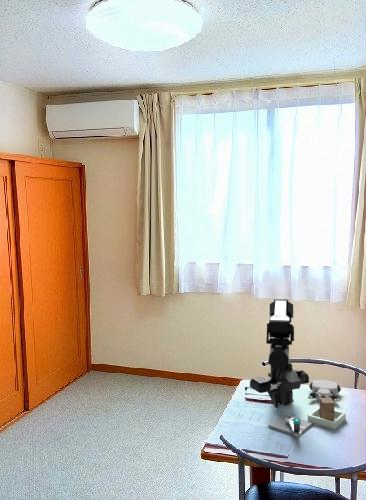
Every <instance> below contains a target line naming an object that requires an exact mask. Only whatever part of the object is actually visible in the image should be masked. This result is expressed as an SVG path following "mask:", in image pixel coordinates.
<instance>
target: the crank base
mask: <svg viewBox="0 0 366 500" xmlns="http://www.w3.org/2000/svg"><path fill="white" fill-rule="evenodd" d="M287 416H291V415H290V414H287V413H283V414H282V415H281V416H279V417H278V418H276V419H275V420H273V421H272V422H270V423H269V424H268V425H267V428H270V429H272V430H276V431H278V432H281V433H285V434H288V435H290V436H293V437H294V434H293V432H292V430H291V428H290V426H289V425H287V424H286V423H285V417H287ZM294 417H295V418H296V419H300V420H301V423H300V432H301V435H302V434H304V433H305V432H306V431H307V430H308V429H310V428H311V427H312V426H314V424H313V422H310V421H308V420H307V419H306V420H305V419H302V418H299V417H296V416H294Z"/></svg>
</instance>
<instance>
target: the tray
mask: <svg viewBox="0 0 366 500" xmlns="http://www.w3.org/2000/svg"><path fill="white" fill-rule="evenodd" d="M319 412H320V405H319V406H317V407H316V408H315V409H314V410H313V411H311V412H310V413H309V414H307V421H310V422H313V425H317V426H319V427H322V428H326V429H329V430H332V431H335V430H337V429H338V428H339V427H340V426H341V425H342V424H344V422H345V421H346V420H347V419H346V418H347V413H346V412H344V411H341V410H340V411H339V410H336V409H334V421H330V420H326V419H323V418H320V417H319Z"/></svg>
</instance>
